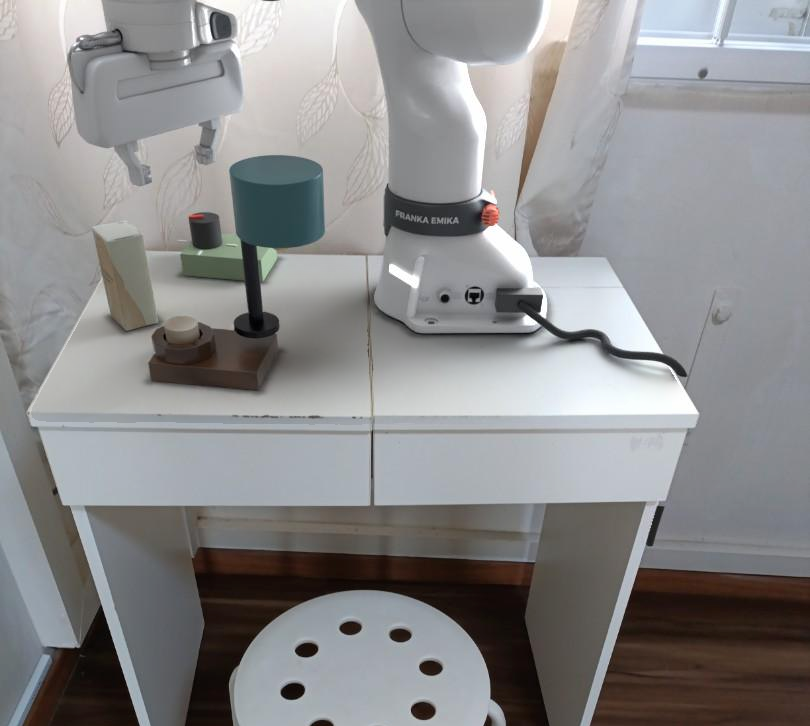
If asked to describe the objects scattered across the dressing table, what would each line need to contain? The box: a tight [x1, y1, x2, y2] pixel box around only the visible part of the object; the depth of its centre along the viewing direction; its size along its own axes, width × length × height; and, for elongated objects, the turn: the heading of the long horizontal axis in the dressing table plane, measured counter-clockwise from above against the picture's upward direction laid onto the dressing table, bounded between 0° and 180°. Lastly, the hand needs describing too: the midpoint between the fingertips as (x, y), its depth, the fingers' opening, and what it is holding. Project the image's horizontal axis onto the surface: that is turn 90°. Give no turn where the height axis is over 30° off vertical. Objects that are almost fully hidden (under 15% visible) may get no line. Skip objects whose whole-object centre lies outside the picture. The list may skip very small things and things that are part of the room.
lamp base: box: [147, 321, 279, 391], centre depth 89 cm, size 12×9×4 cm
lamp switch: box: [163, 315, 200, 344], centre depth 87 cm, size 4×4×2 cm
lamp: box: [228, 154, 326, 338], centre depth 83 cm, size 10×9×17 cm
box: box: [91, 219, 159, 332], centre depth 94 cm, size 5×4×11 cm
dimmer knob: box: [188, 211, 222, 249], centre depth 107 cm, size 4×4×4 cm
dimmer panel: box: [177, 233, 278, 283], centre depth 109 cm, size 13×8×3 cm, turn 83°
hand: (175, 173), depth 87 cm, fingers open, 8 cm apart
